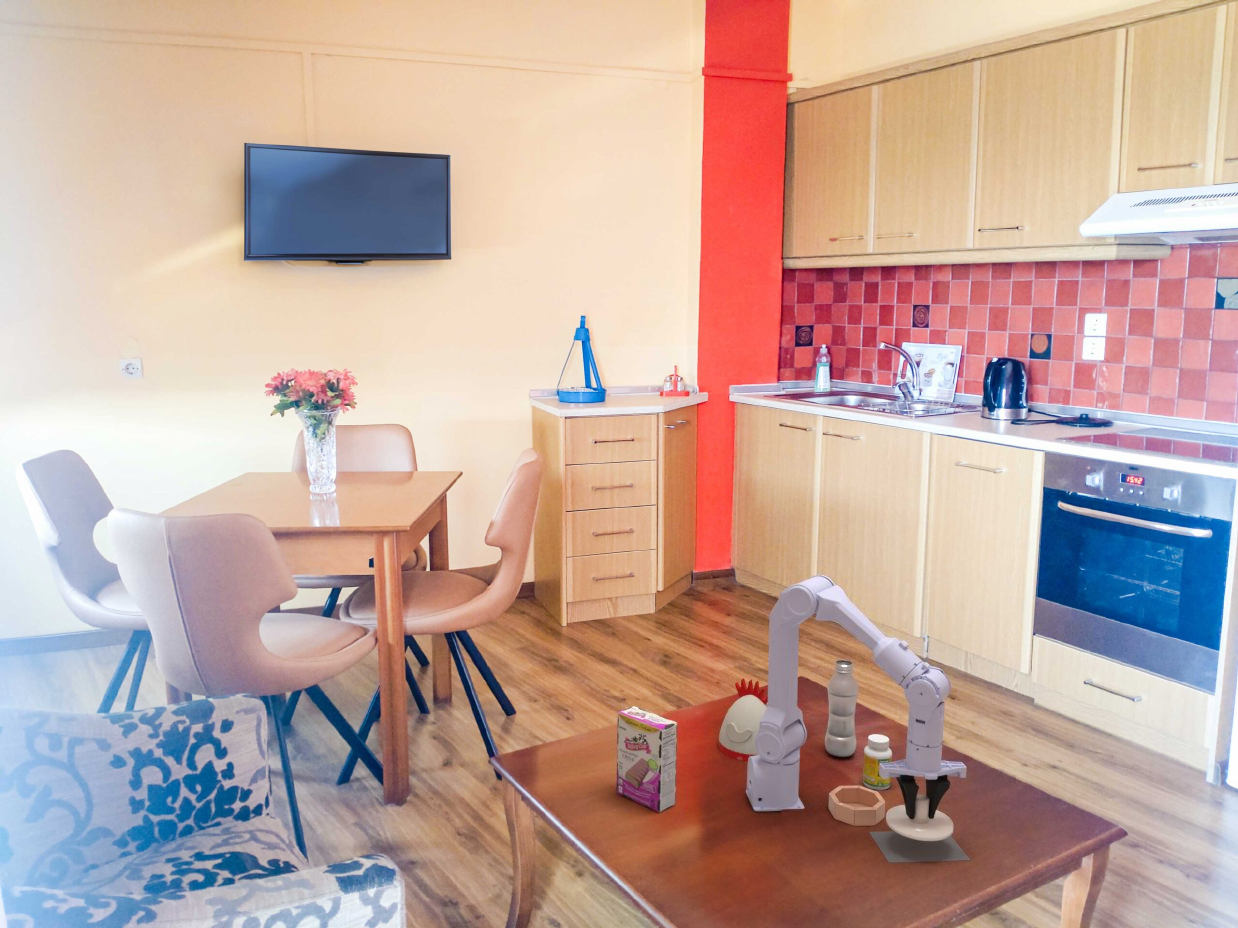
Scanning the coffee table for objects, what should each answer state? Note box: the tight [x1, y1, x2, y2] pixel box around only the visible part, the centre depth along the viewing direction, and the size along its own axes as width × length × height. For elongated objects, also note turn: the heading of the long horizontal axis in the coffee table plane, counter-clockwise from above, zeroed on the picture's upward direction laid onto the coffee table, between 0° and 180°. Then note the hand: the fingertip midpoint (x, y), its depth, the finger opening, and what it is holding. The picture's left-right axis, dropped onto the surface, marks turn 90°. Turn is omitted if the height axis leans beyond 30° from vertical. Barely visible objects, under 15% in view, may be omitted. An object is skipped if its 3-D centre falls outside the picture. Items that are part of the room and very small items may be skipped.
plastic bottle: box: [824, 659, 859, 758], centre depth 203 cm, size 6×7×20 cm
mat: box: [868, 830, 971, 864], centre depth 167 cm, size 14×10×1 cm
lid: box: [885, 793, 954, 841], centre depth 166 cm, size 11×11×5 cm
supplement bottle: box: [862, 733, 893, 791], centre depth 190 cm, size 5×5×10 cm
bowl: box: [828, 785, 886, 827], centre depth 178 cm, size 9×9×4 cm
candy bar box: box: [616, 705, 678, 813], centre depth 182 cm, size 11×5×16 cm, turn 47°
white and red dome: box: [718, 677, 768, 763], centre depth 206 cm, size 14×14×15 cm
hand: (919, 815), depth 166 cm, fingers closed on lid, 3 cm apart
